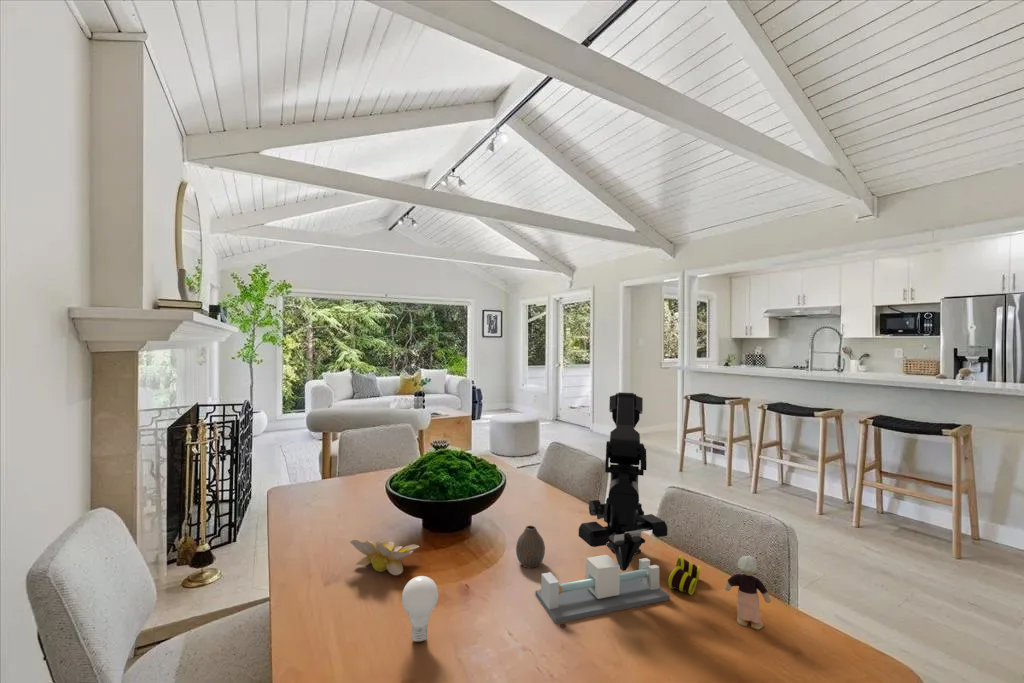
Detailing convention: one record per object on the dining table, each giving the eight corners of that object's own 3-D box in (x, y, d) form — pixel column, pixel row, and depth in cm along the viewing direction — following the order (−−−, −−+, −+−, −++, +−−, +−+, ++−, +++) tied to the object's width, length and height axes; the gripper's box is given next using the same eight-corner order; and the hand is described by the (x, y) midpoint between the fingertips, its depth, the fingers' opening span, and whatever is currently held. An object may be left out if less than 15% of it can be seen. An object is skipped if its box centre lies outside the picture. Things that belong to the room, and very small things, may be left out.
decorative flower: (432, 554, 109) (424, 516, 107) (404, 588, 99) (395, 547, 97) (383, 546, 115) (375, 511, 113) (351, 577, 105) (342, 538, 103)
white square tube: (606, 582, 98) (606, 554, 98) (619, 594, 93) (619, 565, 93) (585, 586, 96) (586, 557, 96) (597, 598, 91) (598, 569, 91)
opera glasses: (691, 602, 95) (696, 580, 95) (665, 590, 98) (670, 568, 97) (698, 582, 103) (703, 561, 103) (674, 571, 106) (679, 551, 106)
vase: (542, 572, 104) (543, 534, 105) (513, 569, 106) (513, 531, 106) (546, 559, 111) (546, 523, 111) (518, 555, 113) (519, 520, 113)
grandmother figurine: (767, 621, 87) (767, 555, 87) (771, 633, 84) (772, 564, 84) (723, 612, 90) (724, 548, 90) (725, 624, 86) (726, 557, 86)
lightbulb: (403, 629, 83) (404, 569, 83) (439, 628, 84) (439, 568, 84) (398, 653, 77) (399, 588, 77) (436, 651, 77) (437, 587, 77)
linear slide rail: (640, 576, 104) (641, 549, 104) (669, 599, 94) (670, 570, 94) (535, 595, 95) (535, 566, 95) (555, 623, 86) (556, 591, 86)
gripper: (638, 481, 107) (637, 547, 107) (567, 488, 101) (566, 559, 101) (669, 496, 96) (668, 570, 96) (592, 505, 90) (591, 584, 90)
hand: (622, 569), depth 96 cm, fingers closed
